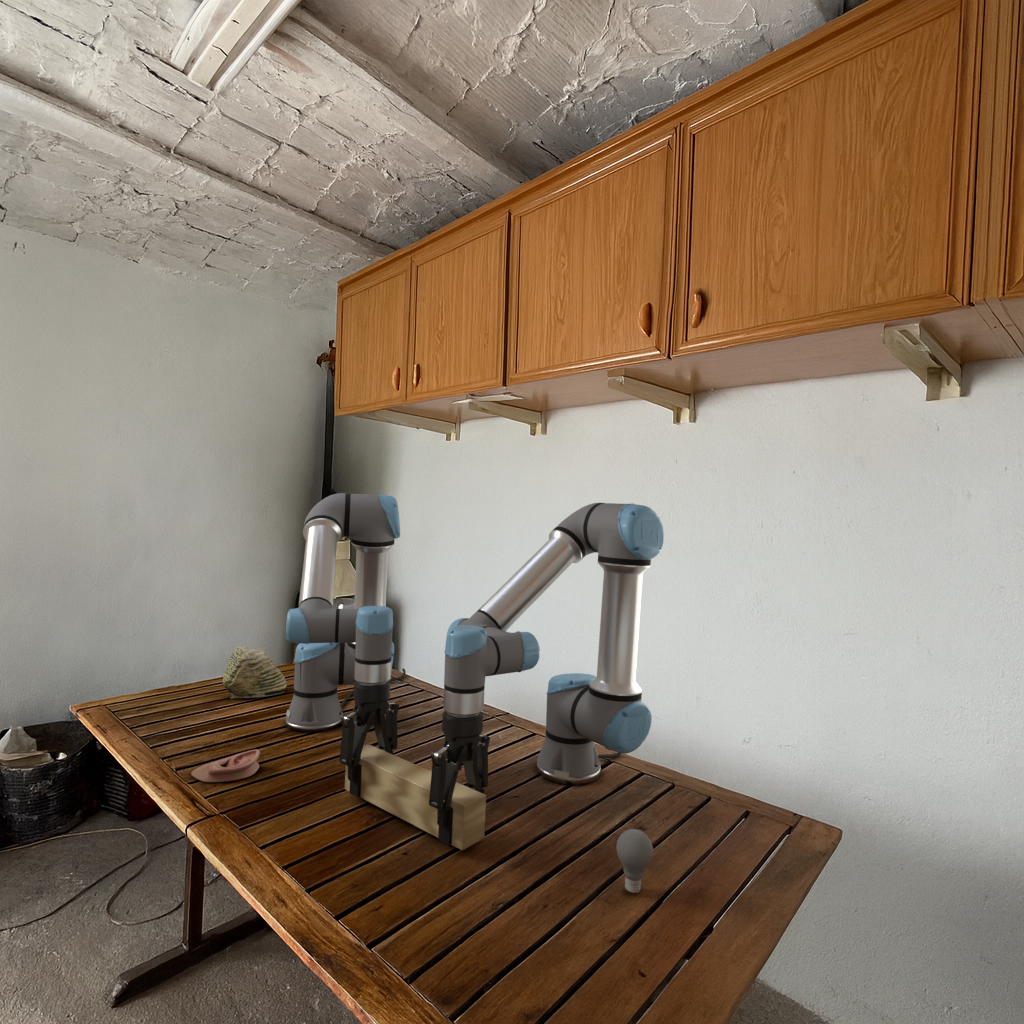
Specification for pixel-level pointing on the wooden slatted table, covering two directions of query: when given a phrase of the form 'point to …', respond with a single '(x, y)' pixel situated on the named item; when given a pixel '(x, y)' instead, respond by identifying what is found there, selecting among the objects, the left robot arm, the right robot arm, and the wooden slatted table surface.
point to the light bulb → (634, 857)
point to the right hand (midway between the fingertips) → (457, 834)
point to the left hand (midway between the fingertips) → (368, 789)
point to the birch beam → (418, 796)
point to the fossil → (252, 674)
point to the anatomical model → (229, 768)
